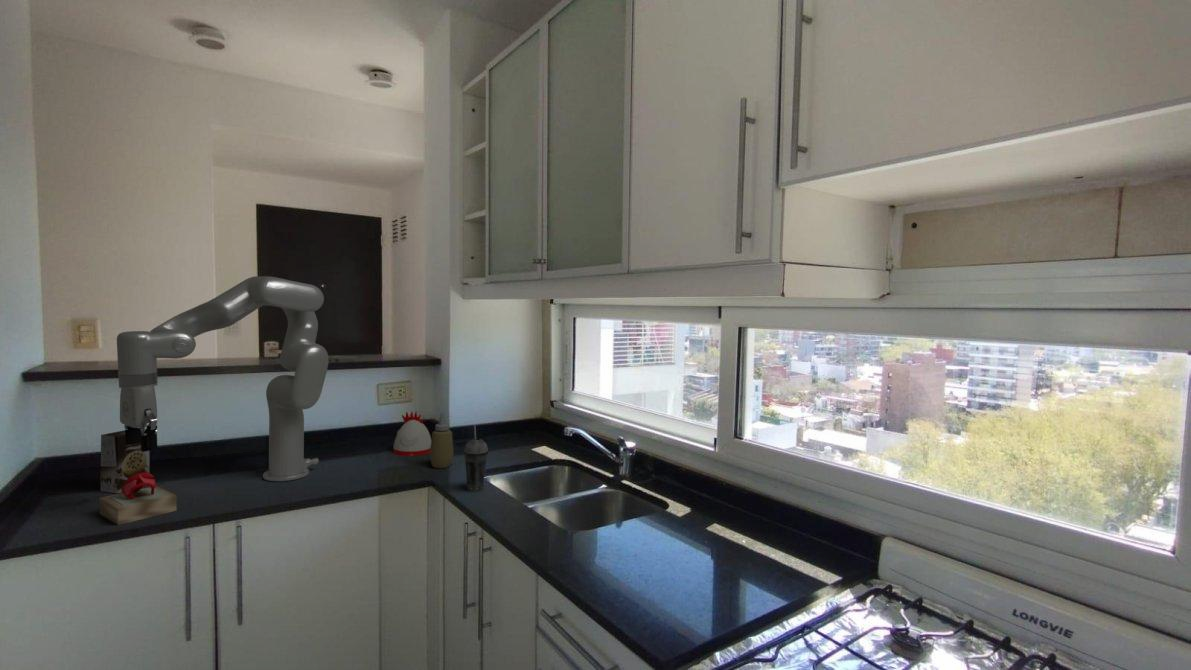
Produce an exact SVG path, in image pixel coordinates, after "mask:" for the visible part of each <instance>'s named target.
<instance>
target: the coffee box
mask: <svg viewBox="0 0 1191 670" xmlns="http://www.w3.org/2000/svg"><path fill="white" fill-rule="evenodd" d="M125 430H126V429H123V430H121V431H115V432H108V433H104V434H100V492H105V493H110V494H121V493H122V490H121V489H122V487H123V486H124V484H125V482H126V480H127V479H128V478H129V477H131V476H133V475H135V474H138V473H150V451H145V452H143V451H141V443H137V444H131V445H126V443H125ZM141 436H142V432H141Z"/></svg>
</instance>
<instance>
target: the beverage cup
mask: <svg viewBox="0 0 1191 670" xmlns="http://www.w3.org/2000/svg"><path fill="white" fill-rule="evenodd" d="M476 427H477V426H476V424H473V434H474V435H473V437H474V438H472V439H470V440H469V441H468V442H466V444H465V447H464V450H463V455H464V460H465V461H464V462H465V475H466V487H467V492H471V493H479V492H482V491H483V488H484V483H485V473H486V466H487V458H488V455H489V448H488V444H487V443H486V442H485V441H484V440H483V439H481V438H478V437H477V431H476V430H477V428H476ZM481 487H482V488H481ZM471 488H472V489H471ZM476 488H478V489H476Z"/></svg>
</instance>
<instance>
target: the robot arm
mask: <svg viewBox="0 0 1191 670" xmlns="http://www.w3.org/2000/svg"><path fill="white" fill-rule="evenodd" d="M324 301H325V297H324V294H323V292H322V290H321V289H320V288H319V287H317V286H316V285H314V284H310V283H304V282H300V281H293V280H289V279H287V278H286V279H285V278H281V277H280V278H279V277H276V276H269V275H267V276H264V275H263V276H262V275H261V276H259V275H258V276H251V277H248V278H246V279H244V280H243V281H241V282H238V284H235V285H234V286H232V287H230V288H229V289H228V290H225V291H224V292H222V293H221V294H219V295H217V296H216V297H214V298H212V299H210V300H208V301H205V302H203V303H201V304H199V305H197V306H195V307H193V308H190V309H188V310H185V311H183V312H181V313H179V314H177V315H175V316H173V317H171V318H169V319H167V320H166V321H164V322H163V323H160V324H159V325H157V326H156V327H154V328H153V329H151V330H149V331H147V330H134V331H133V330H131V331H123V332H120V333H118V335H117V336H116V350H117V351H116V353H117V355H116V356H117V372H118V373H117V375H118V388H119V389H120V392H119V393H120V395H119V422H120V423H121V424H123V425H124V430H125V443H126V445H131V444H137V443H141V451H143V452H145V451H149V452H150V451H156V450H157V449H158V448H159V447H158V405H157V396H156V395H157V394H156V390H155V389H156V388H155V387H156V386H158V366H157V365H158V363H157V359H172V360H173V359H183V358H185V357H188V356H190V355H191V354H192V353H193V352H194V351H195V349H196V347H197V342H196V339H195V337H198V336H199V335H202V334H205V333H208V332H212V331H216V330H221V329H225V328H228V327H231V326H233V325H235V324H236V323H237V322H239V321H241V320H243V319H245V318H246V317H248V315H250V314H252V313H253V312H255V311H256V310H258V309H260V308H261V307H263V306H268V307H269V306H270V307H277V308H281V309H282V310H283V312H284V313H285V316H286V318H287V319H286V320H287V330H286V332H285V336H284V342H283V344H282V348H281V351H280V355H279V364H280V365H281V367H283V369H285V370H288V371H292V372H294V375H291V374H281V375H277V376H275V377H274V378H272V379H271V380H270V381H269V383H267V387H266V392H265V396H266V403H267V409H268V415H269V416H268V420H269V421H268V422H269V424H268V425H269V427H268V470H266V471H265V472H263V474H262V478H263V479H264V480H265V481H269V482H288V481H293V480H299V479H302V478H304V477H306V476H308V475H309V473H310V469H309V468H308V467H310V466H313V465H314V466H315V465H318V464H319V462H320V461H319V458H318V457H315V458H312V459H311V458H310V457H308V458H305V457H304V453H305V451H304V450H305V449H304V448H305V443H304V442H305V440H304V439H305V437H304V436H305V415H304V410H308V409H310V408H313V406H315V405H316V404H317V403H318V401H319V399H320V397H321V394H322V391H323V387H324V383H325V379H326V376H327V371H328V367H329V364H330V363H329V360H330V359H329V354H328V351H327V349H326V348H325V347H324V346H323V345H320V344H319V343H316V341H317V340H316V339H317V334H318V330H319V321H318V319H317V315H316V311H318V310H319V309H320V308H321V307H322V306H323V305H324ZM141 432H142V436H141Z"/></svg>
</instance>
